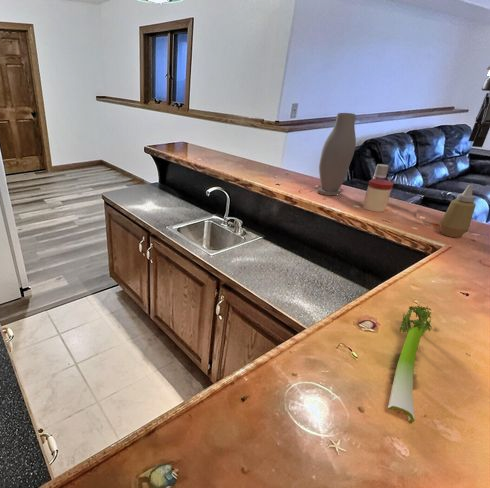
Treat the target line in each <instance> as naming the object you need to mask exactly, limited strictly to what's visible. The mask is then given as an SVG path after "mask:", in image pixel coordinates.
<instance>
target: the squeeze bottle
mask: <svg viewBox="0 0 490 488" xmlns="http://www.w3.org/2000/svg"><path fill="white" fill-rule="evenodd" d="M473 191H474V184H471V183H470V184H469V183H468V185H467V186H466V188H465V190H464V191H463V192H462V193H461V192H460V193H457V196H456V198H454V199H452V200H451V201H450V204H449V206H448V207H447V209H446V211H445V212H444V215H443V217H442V218H441V220H440V224H439V225H440V227H439V229H440V231H439V232H440V234H442V235H444V236H446V237H450V238H454V239H455V238H461V237H462V236H464V235H465V234H466V232H467V231H468V230H469V229H470V227H471V222H472V219H473V215H474V213H475V209H476V205H477V204H476V203H475V199H476V196H475V195H474V194H473Z"/></svg>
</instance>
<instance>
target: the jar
mask: <svg viewBox="0 0 490 488" xmlns="http://www.w3.org/2000/svg"><path fill="white" fill-rule="evenodd" d="M392 190H393V188H392V189H377V188H373V187H371V186H369V184H368V186H367V188H366V192H365V197H364V200H363V203H362V208H363V209H365V210H367V211H370V212H375V213H376V212H377V213H382V212H385V211H386V209H387V206H388V204H389V203H388V202H389V199H390V197H391V193H392Z"/></svg>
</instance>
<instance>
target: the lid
mask: <svg viewBox="0 0 490 488" xmlns="http://www.w3.org/2000/svg"><path fill="white" fill-rule="evenodd" d="M394 184H395V183H394V182H393V181H390V180H387V179H385V180H382V179H373V178H372V179H370V180H368V185H369V186H371V187H373V188H377V189H392V190H393V187H394Z"/></svg>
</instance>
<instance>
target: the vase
mask: <svg viewBox="0 0 490 488" xmlns="http://www.w3.org/2000/svg"><path fill="white" fill-rule="evenodd" d="M355 122H356V114H355V113H352V112H349V113H348V112H338V113H337V114H336V119H335V123H334V125H333V128H332V130H331V132H330V133H329V135H328V136H327V138H326V139H325V141H324V143H323V147H322V149H321V154H320V159H319V165H318V174H319V181H320V186H319V187H317V189H316V193H317V192H318V194H319V193H320V195H323V194H324V195H323V196H330V195H336V196H338V195H337V194H340V193H341V194H342V189H340V188H342V185H343V183H344V181H345V178H346V176H347V173H348V171H349V167H350V166H351V162H352V160H353V157H354V154H355V152H356V145H357V137H356V131H355V129H356V128H355V124H356V123H355ZM341 194H340V195H341Z"/></svg>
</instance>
